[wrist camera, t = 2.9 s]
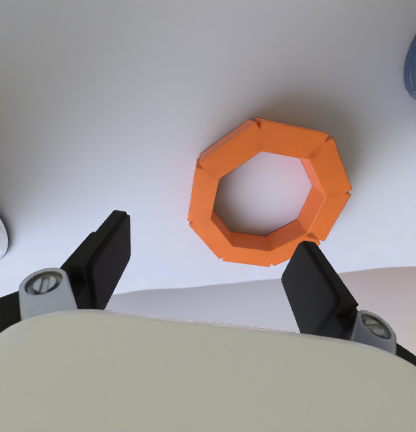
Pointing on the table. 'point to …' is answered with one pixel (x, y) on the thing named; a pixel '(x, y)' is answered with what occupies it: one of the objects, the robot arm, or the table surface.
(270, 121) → the ring
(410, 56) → the tumbler
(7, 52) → the table surface
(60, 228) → the table surface
